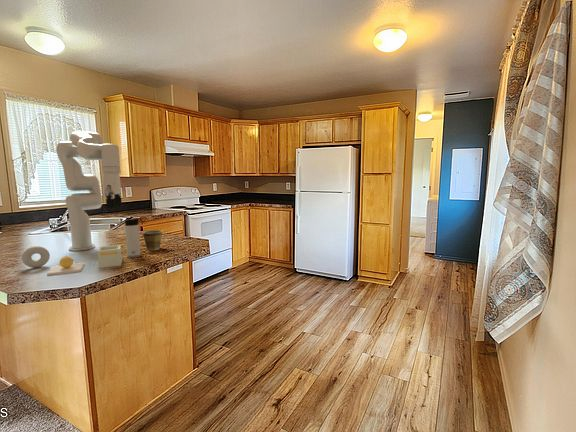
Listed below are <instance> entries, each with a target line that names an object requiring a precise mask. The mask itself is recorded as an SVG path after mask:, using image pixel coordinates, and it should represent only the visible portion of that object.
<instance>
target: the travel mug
mask: <svg viewBox="0 0 576 432" xmlns="http://www.w3.org/2000/svg"><path fill="white" fill-rule="evenodd" d="M139 227H140V225H139V218H138V217H137V218H132V219H130V218H129V219H127V220H124V228H125V240H126V241H125V242H126V243H125V244H126V254H127V255H126V256H127V258H129V259H130V258H131V259H134V258H139V257H141V255H142V254H141V242H140V241H141V240H140V239H141V238H140V228H139Z"/></svg>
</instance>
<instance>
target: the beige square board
mask: <svg viewBox="0 0 576 432" xmlns="http://www.w3.org/2000/svg"><path fill="white" fill-rule="evenodd" d="M85 266H86V262H78V263H77V262H76V263H73V264H72V265H71V266H70V267H68V268H64V267H61V266H60V264H59V265H58V264H57V265H53V266H52V267H51V268H50V269H48V270H49V271H47V272H46V275H47V276H56V275H63V274H64V273H65V274H71V273H73V274H74V273H81V272H82V270H83V269H84V267H85ZM65 274H64V275H65Z"/></svg>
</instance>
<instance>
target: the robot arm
mask: <svg viewBox="0 0 576 432" xmlns="http://www.w3.org/2000/svg"><path fill="white" fill-rule="evenodd" d="M69 140H70V141H68V140H65V141H64V140H63V141H60V142H58V143H57V145H56V154H57V158H58V160H59V162H60V163H61V165H62V169H63V175H64V181H65V185H66V186H65V187H66V189H67V190H68V191H71V192H75V193H70V194H68V195H67V196H66V197H65V204H66V209H67V213H68V220H69V229H70V235H71V237H70V238H71V246H69V248H68V250H69V251H73V252H74V251H75V252H76V251H77V252H78V251H87V250H91V249H94V248H96V245H95V244H93V242H92V231H91V230H92V229H91V219H90V216H89V215H88V213H87V212H86V211H87V210H96V209H97V210H98V209H101V207H102V206H103V197H102V192H101V186H100V185H101V184H100V181H99V179H98V177H97V176H96V175H95V174H91V173H88V174H87V173H86V174H85V173H83V168H82V165H81V164H80V163H79V161H77V160H76V159H75V158H82V159H84V160H87V161H88V160H89V161H101V169H102V175H103V176H102V180H103V181H102V185H103V187H102V188H103V189H102V190H103V195H105V203H106V208H108V209H109V208H115V206H122V204H123V203H122V202H123V201H122V185H121V177H120V175H121V171H122V169H121V160H120V158H121V157H120V147H119V145H118V144H113V143H104V141H103V137H102V136H101V135H100V134H99V133H98V132H91V131H85V130H82V131H81V130H77V131H73V132H72V133H71V134H70V136H69ZM85 191H88V192H85ZM76 192H78V193H76ZM80 192H81V193H80Z"/></svg>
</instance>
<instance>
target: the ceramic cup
mask: <svg viewBox="0 0 576 432" xmlns="http://www.w3.org/2000/svg"><path fill="white" fill-rule="evenodd" d="M142 235H143V239H144V244H145V246H146V247H145V248H146V250H147V251H158V250H160V248H161V243H162V235H163V231H162V230H158V229H157V230H155V229H153V230H145V231H143V232H142Z"/></svg>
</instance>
